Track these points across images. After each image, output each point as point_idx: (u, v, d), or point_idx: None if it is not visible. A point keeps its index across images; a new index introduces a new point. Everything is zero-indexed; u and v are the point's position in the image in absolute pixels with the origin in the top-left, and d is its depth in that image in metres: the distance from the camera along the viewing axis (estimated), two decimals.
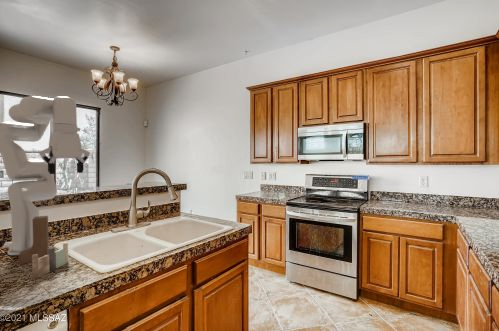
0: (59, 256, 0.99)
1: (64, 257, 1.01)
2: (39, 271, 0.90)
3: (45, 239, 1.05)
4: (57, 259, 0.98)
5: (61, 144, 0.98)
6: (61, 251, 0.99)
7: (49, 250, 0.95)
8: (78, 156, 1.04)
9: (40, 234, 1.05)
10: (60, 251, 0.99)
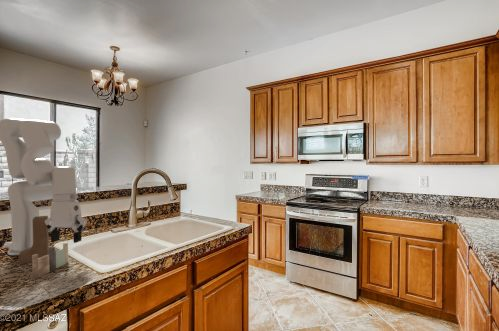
0: (59, 256, 0.99)
1: (64, 257, 1.01)
2: (39, 271, 0.90)
3: (45, 239, 1.05)
4: (57, 259, 0.98)
5: (54, 214, 0.99)
6: (61, 251, 0.99)
7: (49, 250, 0.95)
8: (69, 226, 0.99)
9: (40, 234, 1.05)
10: (60, 251, 0.99)
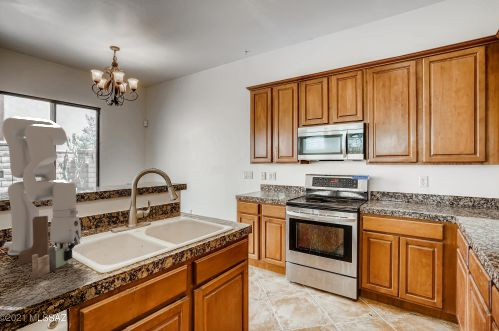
0: (59, 256, 0.99)
1: None
2: (39, 271, 0.90)
3: (45, 239, 1.05)
4: (57, 259, 0.98)
5: (54, 229, 1.00)
6: (61, 251, 0.99)
7: (49, 250, 0.95)
8: (69, 241, 0.99)
9: (40, 234, 1.05)
10: (60, 251, 0.99)
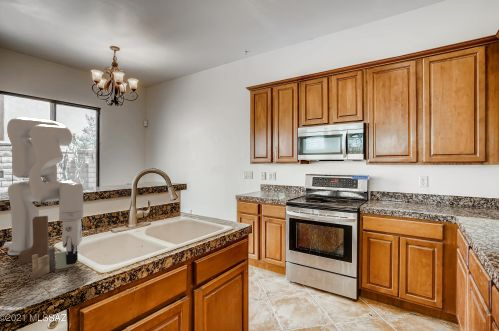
0: (61, 258, 0.97)
1: None
2: (39, 271, 0.90)
3: (45, 239, 1.05)
4: (58, 260, 0.96)
5: None
6: (64, 253, 0.97)
7: (49, 250, 0.95)
8: None
9: (40, 234, 1.05)
10: (62, 253, 0.97)
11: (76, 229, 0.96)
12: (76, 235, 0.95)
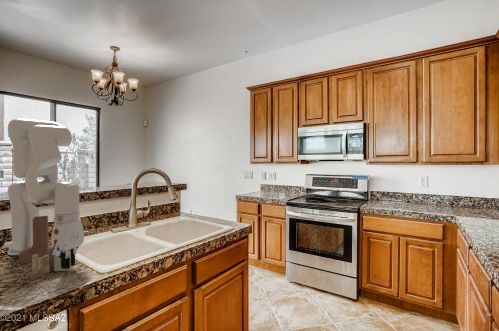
0: (58, 260, 0.95)
1: None
2: (39, 271, 0.90)
3: (45, 239, 1.05)
4: (55, 262, 0.95)
5: None
6: None
7: (49, 250, 0.95)
8: None
9: (40, 234, 1.05)
10: None
11: (62, 233, 0.90)
12: (62, 239, 0.90)
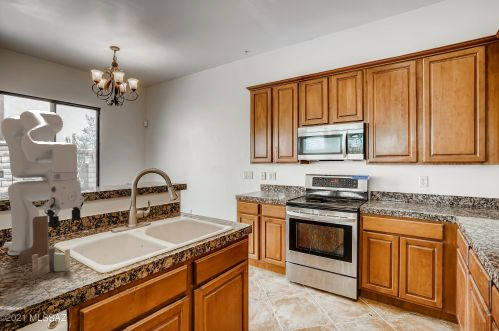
0: (57, 260, 0.95)
1: (63, 263, 0.95)
2: (39, 271, 0.90)
3: (45, 239, 1.05)
4: (55, 262, 0.95)
5: None
6: (60, 256, 0.95)
7: (49, 250, 0.95)
8: None
9: (40, 234, 1.05)
10: (59, 255, 0.95)
11: (60, 191, 0.89)
12: (59, 197, 0.89)
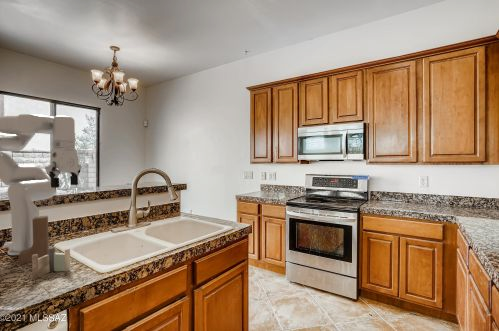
0: (57, 260, 0.95)
1: (63, 263, 0.95)
2: (39, 271, 0.90)
3: (45, 239, 1.05)
4: (55, 262, 0.95)
5: None
6: (60, 256, 0.95)
7: (49, 250, 0.95)
8: None
9: (40, 234, 1.05)
10: (59, 255, 0.95)
11: (60, 156, 1.05)
12: (59, 161, 1.04)
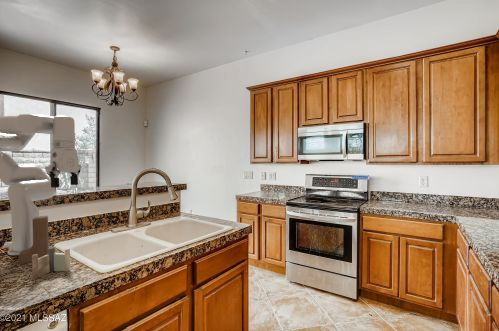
0: (57, 260, 0.95)
1: (63, 263, 0.95)
2: (39, 271, 0.90)
3: (45, 239, 1.05)
4: (55, 262, 0.95)
5: None
6: (60, 256, 0.95)
7: (49, 250, 0.95)
8: None
9: (40, 234, 1.05)
10: (59, 255, 0.95)
11: (60, 156, 1.05)
12: (59, 161, 1.04)
